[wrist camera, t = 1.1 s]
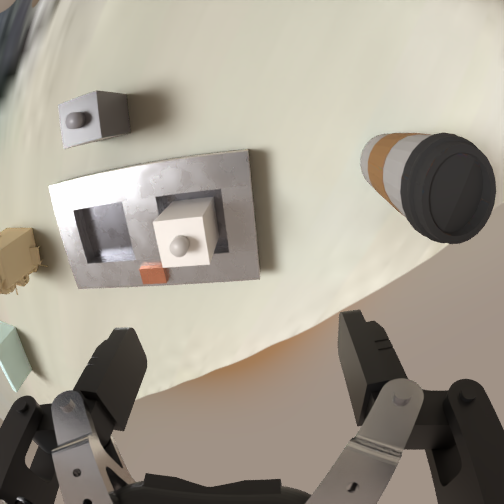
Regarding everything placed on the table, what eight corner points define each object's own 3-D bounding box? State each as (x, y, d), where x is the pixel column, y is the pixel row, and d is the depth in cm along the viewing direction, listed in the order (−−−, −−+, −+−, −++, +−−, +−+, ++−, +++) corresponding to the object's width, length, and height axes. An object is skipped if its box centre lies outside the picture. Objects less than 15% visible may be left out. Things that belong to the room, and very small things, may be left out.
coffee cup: (425, 145, 29) (512, 171, 16) (398, 208, 33) (470, 264, 19) (366, 112, 28) (441, 112, 15) (338, 180, 32) (394, 227, 18)
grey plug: (92, 104, 28) (51, 104, 21) (126, 94, 28) (89, 90, 20) (96, 141, 30) (56, 150, 23) (130, 132, 30) (95, 139, 22)
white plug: (172, 201, 32) (148, 226, 25) (213, 196, 32) (199, 220, 25) (179, 239, 34) (159, 273, 27) (219, 236, 34) (208, 270, 27)
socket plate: (59, 181, 32) (45, 188, 29) (248, 148, 30) (247, 152, 27) (86, 279, 38) (75, 291, 34) (259, 268, 36) (260, 282, 33)
